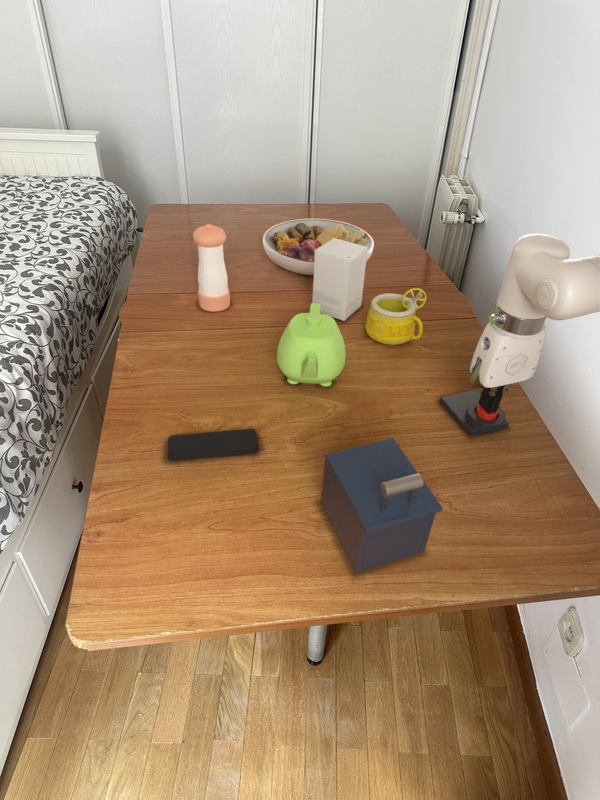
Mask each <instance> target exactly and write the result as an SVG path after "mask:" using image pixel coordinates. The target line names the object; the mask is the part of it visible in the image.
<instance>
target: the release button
mask: <svg viewBox="0 0 600 800" xmlns="http://www.w3.org/2000/svg"><path fill="white" fill-rule="evenodd" d="M475 414H476V415H477V416H478V417H480V418H482V419H484V420H489V421H491V420H495V419H496V417H497V414H498V410H497V412H494V413H493V412H492V413H490V414H488V413H487V412H486V411H485V410H484V409H483V408H482V407H481V406H480V405H479V404H478V406H477V409H476V412H475Z"/></svg>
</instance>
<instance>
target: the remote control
mask: <svg viewBox="0 0 600 800" xmlns="http://www.w3.org/2000/svg"><path fill="white" fill-rule="evenodd" d="M259 446H260V445H259V440H258V435H257V431H256V430H255V429H254V428H243V429H242V428H241V429H229V430H220V431H219V430H218V431H205V432H195V433H194V432H193V433H181V434H174V435H173V434H172V435H170V436H169V437H168V438H167V447H166V449H167V454H166V455H167V457H166V458H167V460H168V461H170V462H177V461H178V462H179V461H180V462H181V461H189V460H199V459H200V460H201V459H212V458H222V457H233V456H243V455H254V454H255V455H256V454H258V452H259V451H260V447H259Z"/></svg>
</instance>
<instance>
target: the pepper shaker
mask: <svg viewBox="0 0 600 800" xmlns="http://www.w3.org/2000/svg"><path fill="white" fill-rule="evenodd" d="M192 238H193V241H194V243H195V244H196V245H197V251H198V253H197V254H198V269H197V271H198V272H197V282H198V290H197V296H198V297H197V298H198V306H199V307H200V309H202V310H204V311H206V312H221V311H224V310H226V309H228V308H229V307H230V305H231V292H230V288H229V285H228V284H229V282H228V273H227V268H226V264H225V259H224V258H225V256H224V244H225V241H226V239H227V234H226V232H225V231H224V229H223V228H222V227H220V226H217V225H213V224H212V223H206V224H205V225H202V226H199V227H197V228H196V229H195V231H194V232H193V236H192Z"/></svg>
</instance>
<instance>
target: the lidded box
mask: <svg viewBox="0 0 600 800" xmlns="http://www.w3.org/2000/svg"><path fill="white" fill-rule="evenodd" d="M322 477H323V478H322V489H321V499H320V505H321V507H322V509H323V511H324V513H325V515H326V517H327V519H328V521H329V523H330V525H331V527H332V529H333V532H334V533H335V535H336V537H337V539H338V541H339V543H340V546H341V548H342V550H343V551H344V554H345V555H346V557H347V559H348V562H349V563H350V565H351V568H352V570H353V571H354V574H357V573H358V574H359V573H362V572H365V571H367V570H371V569H374V568H377V567H380V566H384V565H387V564H389V563H394V562H397V561H400V560H404V559H406V558H410V557H414V556H416V555H420V554H423V553H425V550H426V547H427V544H428V540H429V537H430V534H431V530H432V527H433V524H434V521H435V518H436V514H437V513H434V514H431V515H427V516H424V517H420V518H417V519H413V520H410V521H406V522H403V523H399V524H396V525H392V526H389V527H385V528H382V529H378V530H375V531H371V532H368V533H366V532H365V530H364V528H363V526H362V524H361V522H360V521H359V519H358V517H357V515H356V513H355V511H354V510H353V508H352V506H351V504H350V502H349V500H348V499H347V497H346V495H345V493H344V491H343V489H342V488H341V486H340V484H339V482H338V480H337V478H336V477H335V475H334V473H333V471H332V469H331V467H330V466H329V464H328V462H327V460H326V458H324V467H323V476H322Z"/></svg>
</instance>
